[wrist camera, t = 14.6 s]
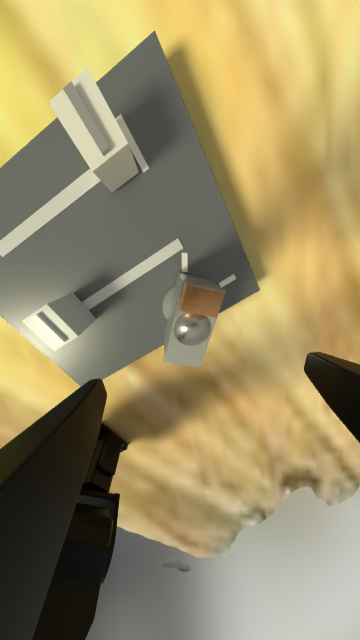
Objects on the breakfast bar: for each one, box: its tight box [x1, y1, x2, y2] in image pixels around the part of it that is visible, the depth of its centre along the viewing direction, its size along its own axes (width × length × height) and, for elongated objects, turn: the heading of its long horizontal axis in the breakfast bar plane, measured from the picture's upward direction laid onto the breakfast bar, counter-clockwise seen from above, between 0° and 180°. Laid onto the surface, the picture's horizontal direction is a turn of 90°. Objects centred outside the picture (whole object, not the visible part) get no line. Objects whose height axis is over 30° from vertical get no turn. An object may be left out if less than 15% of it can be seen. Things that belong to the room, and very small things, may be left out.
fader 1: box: [49, 67, 139, 192], centre depth 10 cm, size 2×3×4 cm
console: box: [0, 31, 260, 386], centre depth 15 cm, size 22×18×2 cm
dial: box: [164, 272, 226, 367], centre depth 13 cm, size 6×3×6 cm, turn 167°
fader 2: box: [22, 293, 96, 351], centre depth 14 cm, size 2×3×4 cm
